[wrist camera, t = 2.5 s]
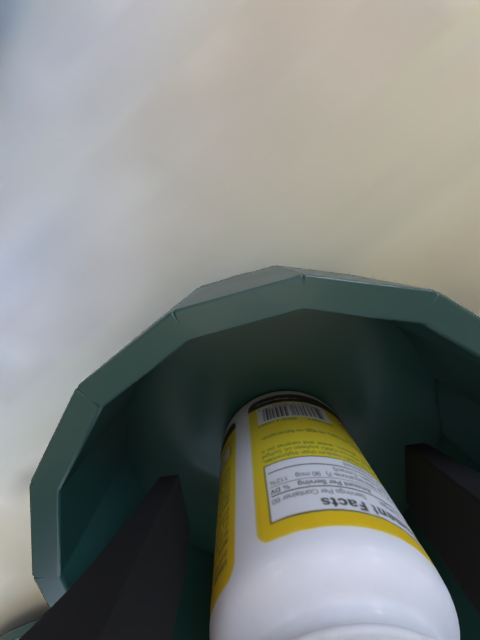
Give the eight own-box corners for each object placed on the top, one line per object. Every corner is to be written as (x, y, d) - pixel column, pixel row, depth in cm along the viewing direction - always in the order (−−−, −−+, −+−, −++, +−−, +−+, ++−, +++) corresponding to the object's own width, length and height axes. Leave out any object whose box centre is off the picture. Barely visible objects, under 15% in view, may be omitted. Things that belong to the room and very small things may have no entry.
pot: (566, 423, 12) (789, 537, 7) (207, 640, 14) (191, 837, 10) (392, 132, 10) (548, 9, 5) (-3, 448, 12) (-166, 579, 7)
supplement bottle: (276, 515, 12) (355, 1040, 4) (196, 441, 12) (96, 902, 3) (369, 445, 12) (684, 903, 3) (291, 361, 11) (456, 692, 3)
